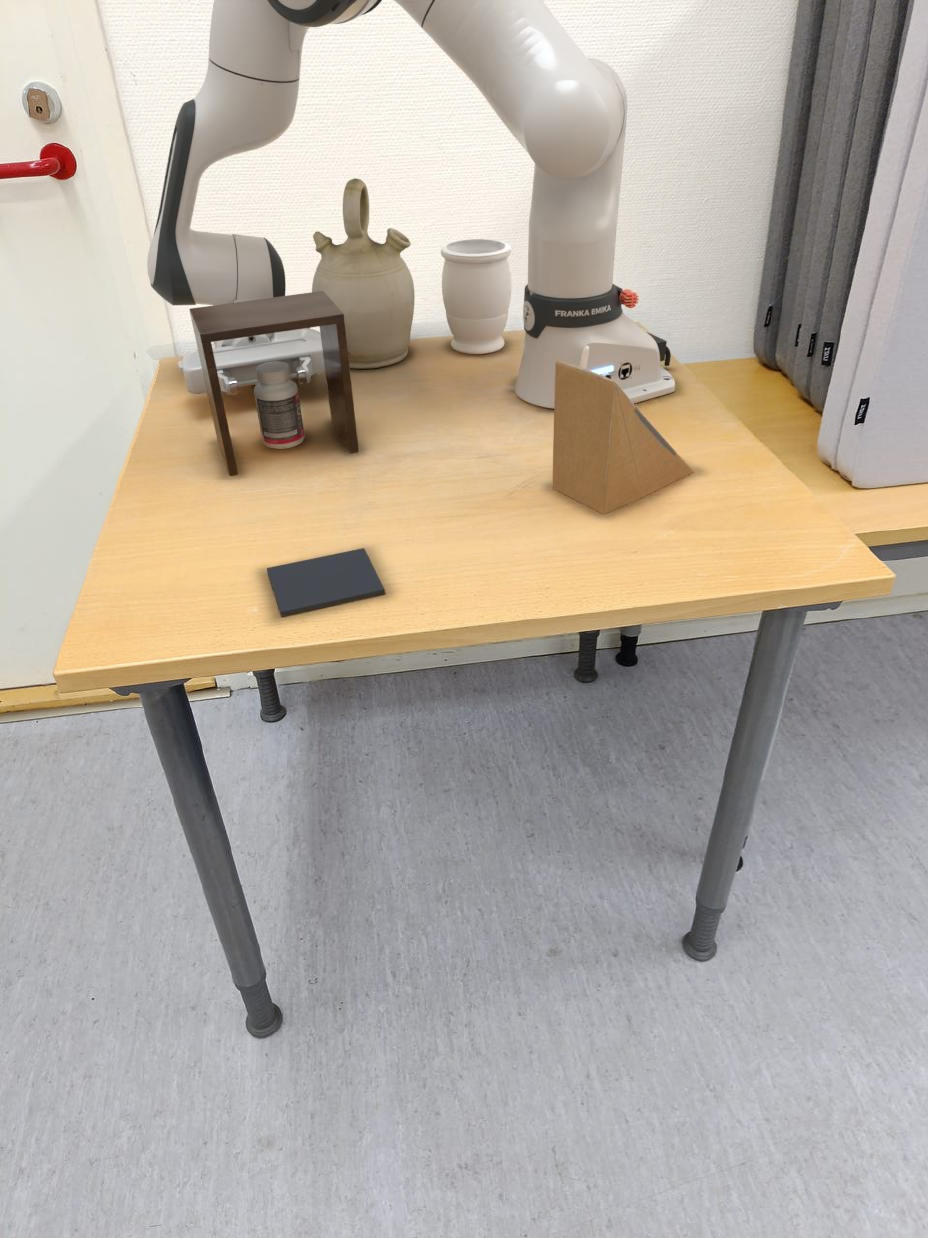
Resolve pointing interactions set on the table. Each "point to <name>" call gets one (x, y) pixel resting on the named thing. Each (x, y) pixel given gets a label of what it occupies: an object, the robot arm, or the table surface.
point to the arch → (273, 319)
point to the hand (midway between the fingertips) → (268, 383)
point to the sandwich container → (606, 443)
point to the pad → (324, 582)
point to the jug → (367, 285)
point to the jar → (476, 293)
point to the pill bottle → (278, 406)
